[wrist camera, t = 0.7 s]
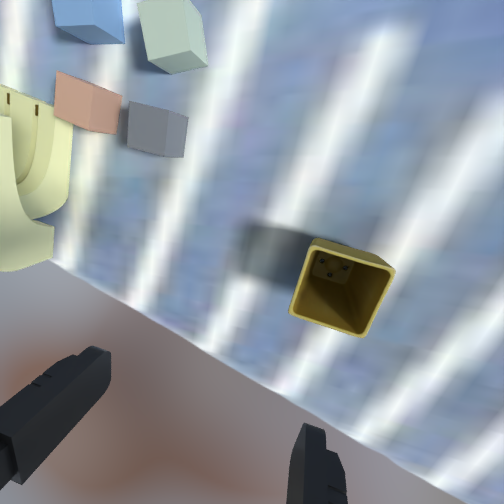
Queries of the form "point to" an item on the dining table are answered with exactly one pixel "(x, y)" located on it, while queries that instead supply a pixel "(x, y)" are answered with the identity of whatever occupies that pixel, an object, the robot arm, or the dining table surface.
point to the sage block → (173, 35)
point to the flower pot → (341, 287)
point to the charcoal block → (156, 130)
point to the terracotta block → (86, 104)
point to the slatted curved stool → (30, 177)
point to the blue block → (91, 20)
